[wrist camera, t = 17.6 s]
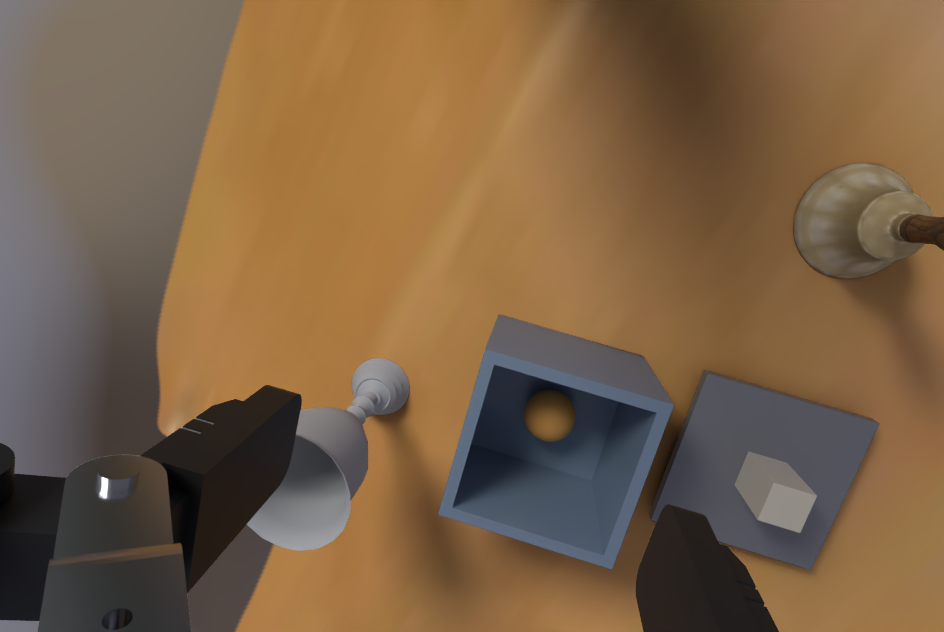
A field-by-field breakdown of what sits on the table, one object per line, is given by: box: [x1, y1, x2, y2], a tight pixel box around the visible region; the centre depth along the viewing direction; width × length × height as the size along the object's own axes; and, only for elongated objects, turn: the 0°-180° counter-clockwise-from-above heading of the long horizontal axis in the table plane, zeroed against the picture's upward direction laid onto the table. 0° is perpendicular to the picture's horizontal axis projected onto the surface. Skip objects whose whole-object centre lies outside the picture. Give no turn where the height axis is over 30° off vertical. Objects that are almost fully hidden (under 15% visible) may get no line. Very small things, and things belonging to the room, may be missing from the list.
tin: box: [438, 314, 674, 570], centre depth 42 cm, size 12×12×11 cm
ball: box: [524, 390, 576, 442], centre depth 45 cm, size 4×4×4 cm
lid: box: [649, 370, 879, 570], centre depth 43 cm, size 13×13×7 cm
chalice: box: [247, 358, 410, 551], centre depth 40 cm, size 7×7×18 cm
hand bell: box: [794, 163, 944, 279], centre depth 34 cm, size 8×8×16 cm
